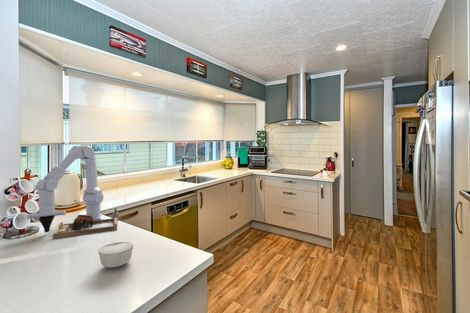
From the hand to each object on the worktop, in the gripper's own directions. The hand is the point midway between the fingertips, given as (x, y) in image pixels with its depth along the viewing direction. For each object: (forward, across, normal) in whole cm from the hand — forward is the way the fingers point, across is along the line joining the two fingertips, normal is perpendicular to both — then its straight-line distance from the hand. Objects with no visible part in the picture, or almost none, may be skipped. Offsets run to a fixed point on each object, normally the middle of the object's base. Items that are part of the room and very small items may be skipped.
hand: (47, 231), depth 110 cm
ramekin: (+2, +29, -48) cm, 56 cm away
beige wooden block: (+1, +6, 0) cm, 7 cm away
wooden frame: (+1, +17, 0) cm, 17 cm away
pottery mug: (+2, +14, -1) cm, 14 cm away
